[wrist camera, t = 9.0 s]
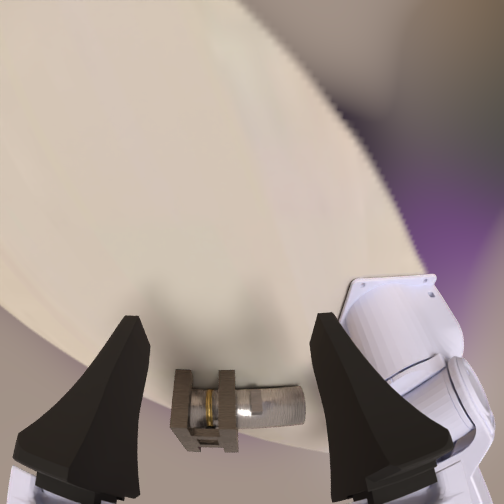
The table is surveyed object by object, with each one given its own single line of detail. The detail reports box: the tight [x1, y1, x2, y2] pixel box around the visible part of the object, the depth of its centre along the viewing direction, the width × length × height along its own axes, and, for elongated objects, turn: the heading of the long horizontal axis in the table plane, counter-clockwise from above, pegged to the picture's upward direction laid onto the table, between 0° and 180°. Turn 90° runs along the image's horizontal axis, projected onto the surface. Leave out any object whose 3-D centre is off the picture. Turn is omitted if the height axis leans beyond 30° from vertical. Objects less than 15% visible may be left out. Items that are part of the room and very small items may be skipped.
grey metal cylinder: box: [190, 386, 306, 429], centre depth 32 cm, size 15×6×5 cm, turn 89°
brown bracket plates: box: [170, 370, 238, 452], centre depth 31 cm, size 7×11×7 cm, turn 179°
